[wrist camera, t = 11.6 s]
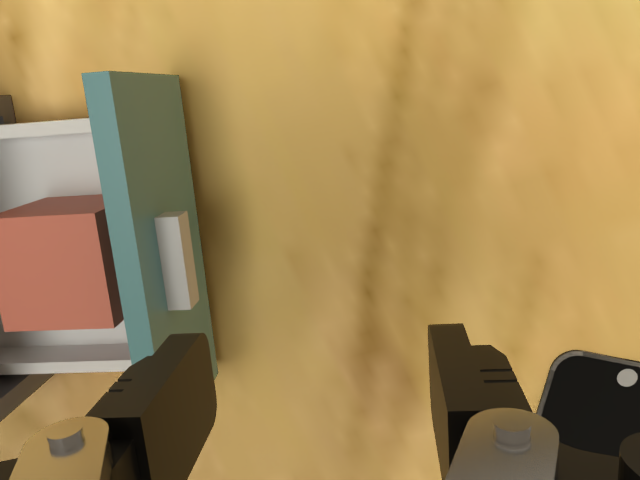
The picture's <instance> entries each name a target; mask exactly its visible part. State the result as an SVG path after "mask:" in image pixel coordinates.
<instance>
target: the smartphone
mask: <svg viewBox="0 0 640 480" xmlns="http://www.w3.org/2000/svg"><path fill="white" fill-rule="evenodd" d="M536 414H538V415H540V416H542V417H544V418H545V419H547V420H548V421H550V422H551V423H552V424H553V425H554V426H555V428H556V429H557V431H558V433H559V442H561V443H563V444H565V445H568V446H570V447H573V448H576V449H579V450H583V451H588V452H593V453H598V454H604V455H610V456H615V457H619V451H620V445H621V442H622V441H623V440H624V439H625V438H627V437H628V436H630V435H632V434H635V433H639V432H640V362H638V361H633V360H628V359H622V358H616V357H611V356H607V355H603V354H598V353H597V354H596V353H592V352H588V351H580V350H572V351H568V352H565V353H563V354H561V355H559V356H558V357H557V358H556V359H555V360H554V361H553V363H552V365H551V367H550V370H549V373H548V377H547V380H546V383H545V387H544V390H543V393H542V396H541V400H540V403H539V406H538V409H537V413H536Z"/></svg>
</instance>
